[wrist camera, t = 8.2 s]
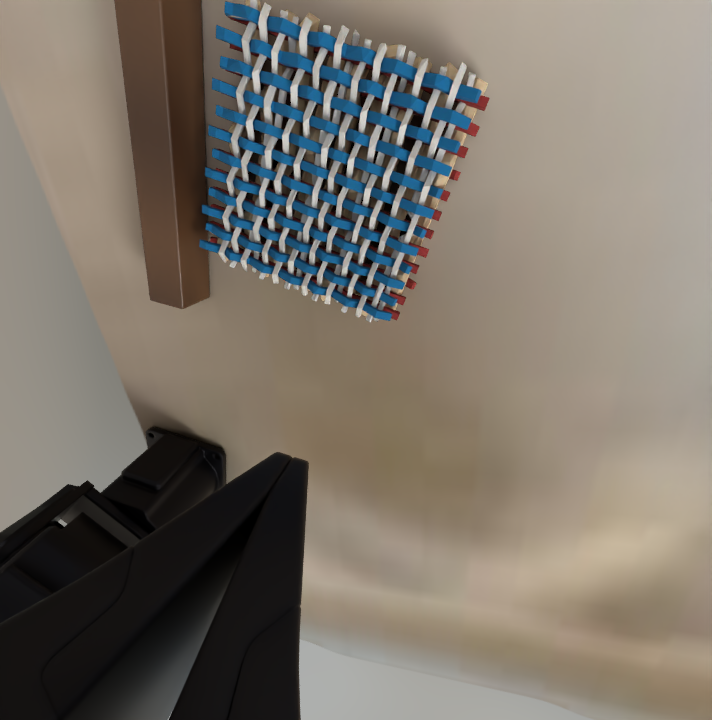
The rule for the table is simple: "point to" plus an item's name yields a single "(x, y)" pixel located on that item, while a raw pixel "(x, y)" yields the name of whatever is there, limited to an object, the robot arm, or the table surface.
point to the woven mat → (333, 158)
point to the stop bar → (167, 141)
